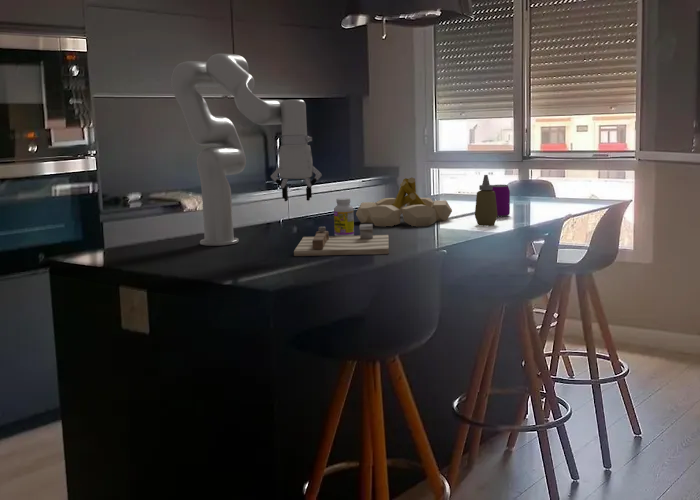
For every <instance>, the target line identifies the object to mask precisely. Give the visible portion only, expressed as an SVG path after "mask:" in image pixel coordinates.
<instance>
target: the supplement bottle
mask: <svg viewBox="0 0 700 500" xmlns="http://www.w3.org/2000/svg"><path fill="white" fill-rule="evenodd" d="M335 202H336V205H335V207H334V209H333V222H334V223H333V225H334V226H333V229H334V231H333V232H334V236H355V224H354V223H355V222H354V221H355V219H354V217H355V216H354V207H353V206H351V204H350V203H351V198H348V197H339V198H336V201H335Z"/></svg>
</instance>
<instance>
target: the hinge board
mask: <svg viewBox="0 0 700 500" xmlns="http://www.w3.org/2000/svg"><path fill="white" fill-rule="evenodd" d="M373 225H374V223H360V224H359V235H353V236H335V235H329V240H327V241H326V243H325V245H324V247H323V249H313V241H312V240H313V239H314V237H315V236H303V237H302V239H301V240H300V242H299V243H298V244H297V246H296V247H295V249H294V251H293V257H306V256H307V257H309V256H347V255H351V256H352V255H355V256H356V255H358V256H359V255H389V251H390V250H389V249H390V248H389V243H390V242H389V238H390V237H389V234H374V232H373V231H374V229H373V227H374V226H373ZM318 231H327V230H326V226H319V227H318Z"/></svg>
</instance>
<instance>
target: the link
mask: <svg viewBox="0 0 700 500" xmlns="http://www.w3.org/2000/svg"><path fill="white" fill-rule="evenodd" d="M329 234H330V233H329V231H328V230H326V231H319V230H318V231H316V232H315V235H314V236H313V237H314V239H313V240H312V241H313V249H323V247H324V245H325V243H326V241H327V240H329V236H330V235H329Z"/></svg>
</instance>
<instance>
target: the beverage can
mask: <svg viewBox="0 0 700 500" xmlns="http://www.w3.org/2000/svg"><path fill="white" fill-rule="evenodd" d="M492 185H493V189H492V191H494V192H495V196H496V205H497V218H507V217H509V216H510V214H511V213H510V212H511V205H510V204H511V203H510V202H511V201H510V200H511V199H510V197H511V192H510V191H511V190H510V187H509V184H492Z"/></svg>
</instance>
